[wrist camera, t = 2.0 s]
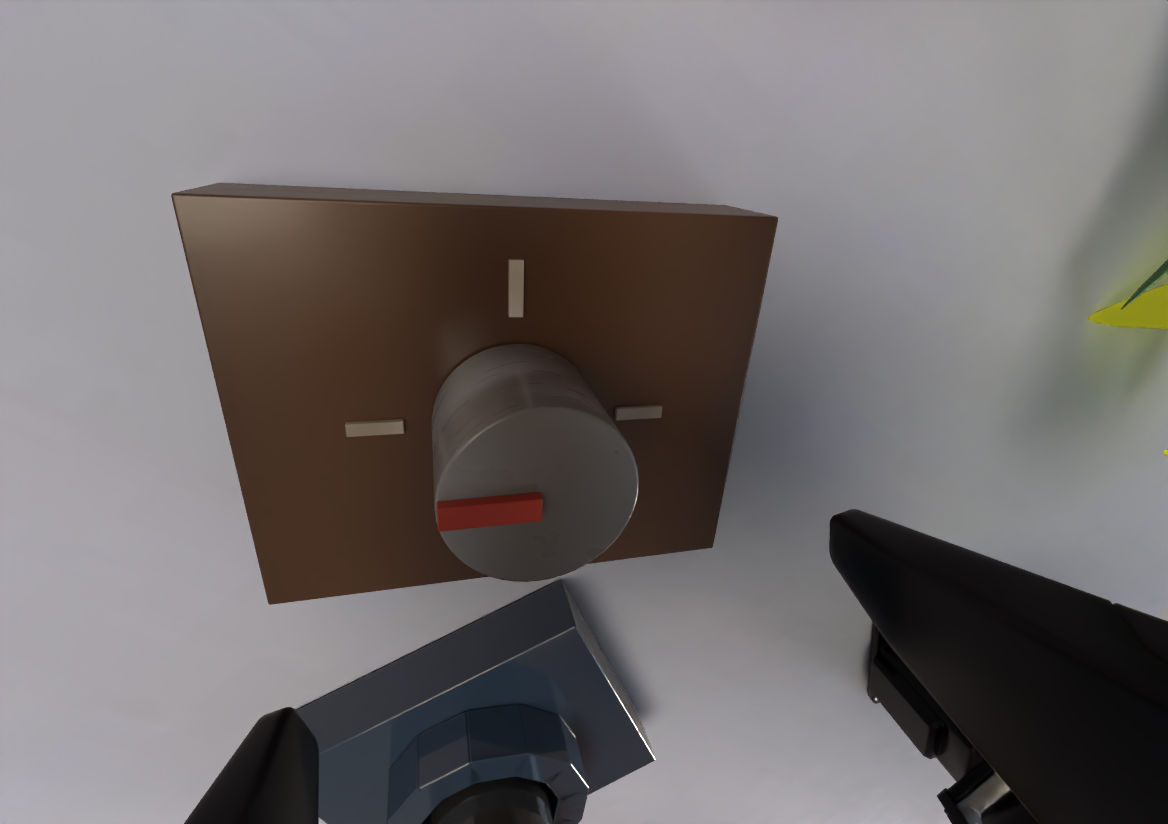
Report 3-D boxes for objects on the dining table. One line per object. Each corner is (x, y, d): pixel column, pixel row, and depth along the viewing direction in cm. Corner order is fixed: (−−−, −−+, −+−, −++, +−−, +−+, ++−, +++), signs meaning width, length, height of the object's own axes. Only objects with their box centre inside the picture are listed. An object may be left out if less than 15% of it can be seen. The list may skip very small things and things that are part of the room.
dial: (597, 340, 15) (656, 408, 11) (586, 480, 17) (634, 578, 13) (426, 344, 14) (428, 421, 10) (435, 494, 16) (440, 605, 12)
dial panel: (725, 205, 17) (782, 217, 15) (678, 500, 22) (715, 551, 19) (217, 182, 14) (165, 193, 11) (289, 540, 18) (266, 610, 16)
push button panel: (561, 578, 22) (590, 672, 18) (637, 710, 27) (673, 806, 23) (282, 716, 22) (251, 843, 18) (412, 825, 27) (410, 944, 23)
